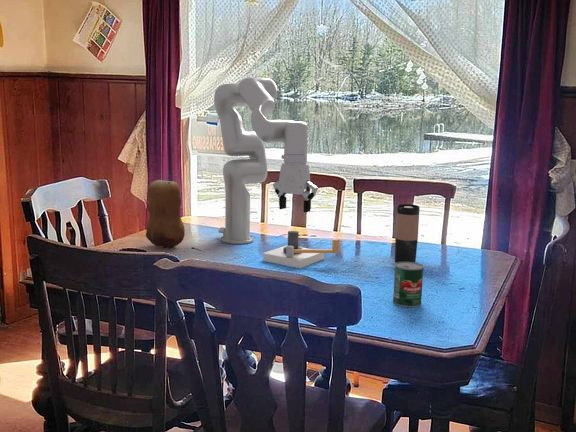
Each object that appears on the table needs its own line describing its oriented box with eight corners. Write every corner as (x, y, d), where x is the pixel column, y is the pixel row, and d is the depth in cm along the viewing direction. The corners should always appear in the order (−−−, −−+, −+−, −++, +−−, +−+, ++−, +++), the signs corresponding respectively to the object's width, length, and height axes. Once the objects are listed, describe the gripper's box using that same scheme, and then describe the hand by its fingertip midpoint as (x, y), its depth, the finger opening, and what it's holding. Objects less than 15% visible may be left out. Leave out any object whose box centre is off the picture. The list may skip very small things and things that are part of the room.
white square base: (262, 264, 213) (263, 253, 212) (287, 255, 225) (288, 244, 224) (300, 272, 204) (300, 260, 204) (323, 262, 217) (324, 251, 216)
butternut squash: (178, 241, 241) (178, 177, 237) (189, 249, 230) (188, 181, 225) (142, 244, 235) (141, 178, 231) (151, 253, 224) (149, 183, 219)
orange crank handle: (285, 255, 209) (286, 238, 208) (337, 255, 210) (338, 239, 209) (286, 257, 206) (286, 240, 205) (338, 257, 208) (339, 240, 207)
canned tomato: (404, 296, 183) (407, 260, 181) (426, 303, 177) (429, 266, 175) (386, 301, 178) (389, 264, 176) (409, 309, 172) (411, 270, 170)
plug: (279, 259, 214) (280, 232, 212) (290, 255, 219) (290, 229, 217) (295, 262, 210) (296, 235, 208) (305, 259, 215) (306, 231, 214)
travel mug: (417, 260, 222) (421, 205, 218) (414, 266, 215) (418, 208, 211) (395, 258, 225) (399, 203, 221) (392, 263, 218) (395, 206, 214)
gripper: (267, 158, 209) (267, 209, 213) (311, 161, 200) (310, 214, 203) (280, 156, 216) (279, 206, 219) (323, 160, 206) (322, 211, 209)
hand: (294, 210), depth 211 cm, fingers open, 9 cm apart
